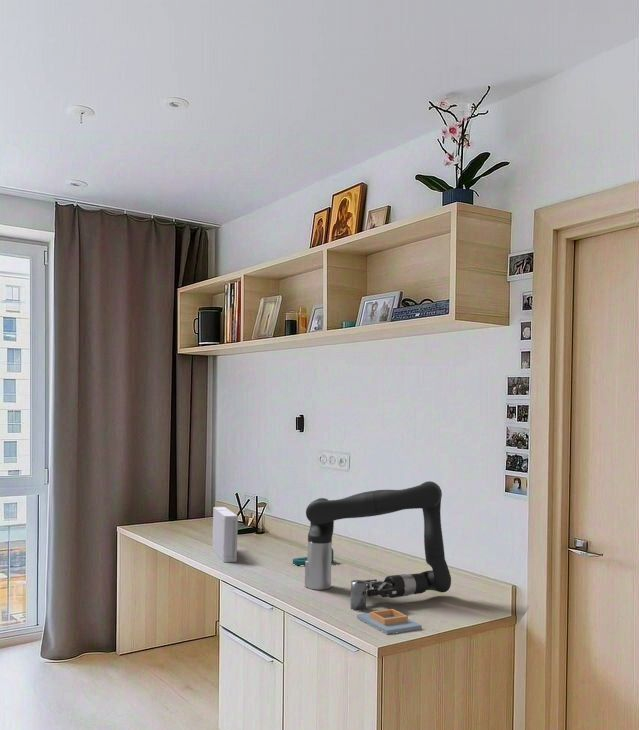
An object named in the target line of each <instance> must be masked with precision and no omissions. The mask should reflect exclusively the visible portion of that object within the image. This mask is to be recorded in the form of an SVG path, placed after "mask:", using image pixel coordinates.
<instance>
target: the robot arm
mask: <svg viewBox="0 0 639 730" xmlns="http://www.w3.org/2000/svg"><path fill="white" fill-rule="evenodd" d="M442 496H443V492H442V489H441V487H440V485H439V484H437V483H436V482H434V481H424V482H423V483H421V484H419V485H415V486H412V487H407V488H402V489H378V490H377V489H376V490H369V491H364V492H359V493H356V494H353V495H350V496H347V497H344V498H339V499H331V500H330V499H328V498H324V497H321V498H320V497H319V498H317V499H315V500H313V501H311V502H310V503H309V504H308V505H307V506H306V510H305V516H306V519H307V520H308V521H309V522H310V527H309V530H308V535H307V557H308V558H307V561H306V562H305V566H304V588H305V587H306V588H308V589H311V590H318V591H319V590H322V591H323V590H327V589H331V588H332V563H331V559H332V549H333V547H332V546H333V544H332V543H333V535H334V527H335V525H334V523H335V521H338V520H343V519H357V518H358V519H359V518H360V519H361V518H369V517H376V516H381V515H386V514H387V515H388V514H391V513H396V512H399V511H404V510H411V509H412V510H414V509H415V510H417V509H422V510H421V511H422V514H423V528H424V529H423V545H424V554H425V555H424V556H425V557H424V558H425V562H426V564H427V565H428V566H430V568H431V569H432V570H425V571H423V572H420V573H407V574H406V573H403V574H392V575H387V576H386V577H385V578H384V580H378V579H376V578H375V579H365V580H364V579H362V580H363V581H366V597H369V598H370V597H381V598H383V599H384V598H391V599H394V598H402V597H408V596H412V595H418V594H419V595H420V594H423V593H425V592H426V591H434V592H438V593H447V592H448V591H449V590H450V588H451V585H452V576H451V572H450V570H449V567H448V563H447V561H446V556H445V554H446V553H445V545H444V537H443V531H442V530H443V529H442V520H441V505H442Z"/></svg>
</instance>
